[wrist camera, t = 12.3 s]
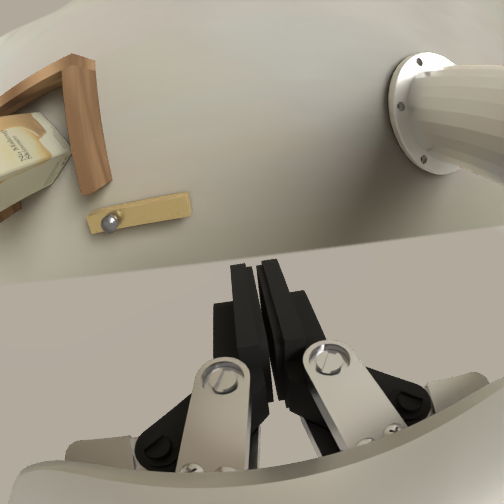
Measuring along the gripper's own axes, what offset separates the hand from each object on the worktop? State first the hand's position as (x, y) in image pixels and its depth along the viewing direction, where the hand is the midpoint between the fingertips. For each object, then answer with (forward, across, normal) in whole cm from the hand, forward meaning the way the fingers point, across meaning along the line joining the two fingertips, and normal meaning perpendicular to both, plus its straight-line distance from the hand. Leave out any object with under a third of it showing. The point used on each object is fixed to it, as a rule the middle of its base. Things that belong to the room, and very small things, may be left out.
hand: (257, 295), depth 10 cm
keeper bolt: (+14, +8, 0) cm, 16 cm away
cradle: (+14, +17, -9) cm, 24 cm away
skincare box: (+14, +17, -8) cm, 24 cm away
